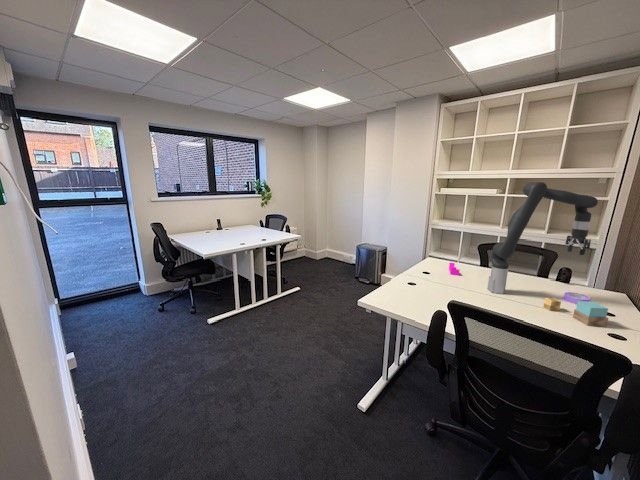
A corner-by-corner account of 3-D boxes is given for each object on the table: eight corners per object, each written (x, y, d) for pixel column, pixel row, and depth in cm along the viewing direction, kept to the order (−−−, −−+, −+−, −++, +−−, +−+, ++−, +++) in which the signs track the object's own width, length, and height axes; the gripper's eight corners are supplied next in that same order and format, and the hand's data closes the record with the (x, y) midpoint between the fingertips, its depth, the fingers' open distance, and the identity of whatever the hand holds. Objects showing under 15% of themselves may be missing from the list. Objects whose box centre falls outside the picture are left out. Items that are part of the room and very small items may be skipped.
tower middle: (589, 316, 136) (591, 307, 135) (575, 309, 143) (577, 301, 142) (606, 317, 135) (608, 308, 134) (592, 310, 143) (593, 301, 142)
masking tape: (568, 303, 162) (570, 297, 162) (559, 296, 173) (560, 291, 172) (593, 306, 158) (594, 300, 158) (582, 299, 169) (583, 293, 168)
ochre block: (549, 310, 152) (551, 301, 151) (543, 307, 157) (545, 297, 156) (559, 311, 152) (560, 301, 151) (552, 307, 157) (554, 298, 156)
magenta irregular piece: (458, 277, 210) (460, 268, 208) (450, 276, 212) (451, 267, 210) (456, 271, 223) (457, 263, 222) (448, 270, 226) (449, 262, 224)
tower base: (587, 326, 136) (589, 317, 135) (572, 317, 145) (574, 309, 144) (606, 327, 135) (608, 318, 134) (590, 318, 144) (592, 310, 143)
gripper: (564, 226, 173) (559, 250, 176) (585, 230, 159) (579, 255, 162) (576, 226, 172) (571, 250, 176) (598, 230, 158) (592, 256, 162)
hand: (575, 253), depth 169 cm, fingers open, 8 cm apart
